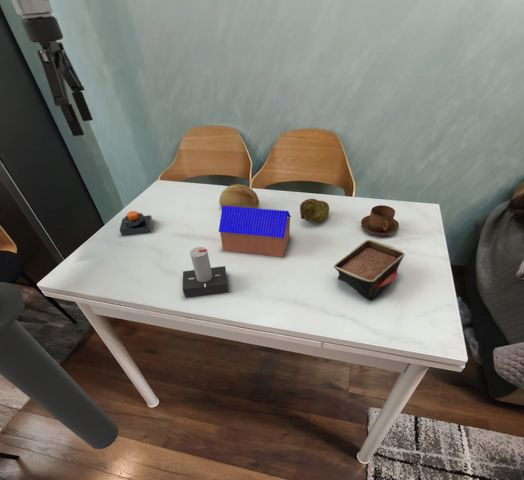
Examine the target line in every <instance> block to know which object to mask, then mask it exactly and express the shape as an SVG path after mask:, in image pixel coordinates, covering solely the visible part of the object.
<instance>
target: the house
mask: <svg viewBox="0 0 524 480" xmlns="http://www.w3.org/2000/svg"><path fill="white" fill-rule="evenodd" d="M291 218H292V216H291V213H290V212H289V210H283V209H282V210H281V209H271V208H269V209H268V208H258V207H257V208H245V207H233V206H222V207H221V213H220V218H219V219H220V220H219V227H218V233H220V240H221V247H222V251H223V252H232V253H241V254H249V255H259V256H266V257H267V256H269V257H277V258H283V257H284V254H285V251H286V249H287V246H288V242H289V239H290V232H291V231H290V230H291Z"/></svg>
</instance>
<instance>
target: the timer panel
mask: <svg viewBox="0 0 524 480" xmlns="http://www.w3.org/2000/svg"><path fill="white" fill-rule="evenodd" d="M211 271H212V279H211V280H209V281H207V282H200V281H198V280H197V278H196V274H195V270H194V269H191V270H183V271H182V291H183V295H184V298H186V299H188V298H195V297H196V298H197V297H203V296H210V295H218V294H224V293H229V291H230V290H229V283H228V275H227V270H226V266H225V265H223V266H216V267H215V266H213V267H211Z"/></svg>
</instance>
